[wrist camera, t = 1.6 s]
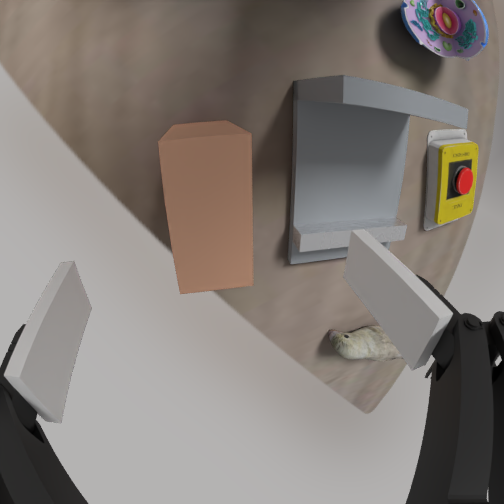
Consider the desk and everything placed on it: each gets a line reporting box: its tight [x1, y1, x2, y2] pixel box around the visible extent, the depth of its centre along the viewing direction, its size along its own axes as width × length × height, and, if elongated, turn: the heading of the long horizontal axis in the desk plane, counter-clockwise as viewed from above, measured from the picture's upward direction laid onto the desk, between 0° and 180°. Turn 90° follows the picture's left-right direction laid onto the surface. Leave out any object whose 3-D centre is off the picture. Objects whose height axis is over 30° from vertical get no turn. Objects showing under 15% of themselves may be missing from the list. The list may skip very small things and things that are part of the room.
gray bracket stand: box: [288, 75, 468, 264], centre depth 25 cm, size 20×14×10 cm
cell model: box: [401, 0, 489, 61], centre depth 17 cm, size 10×12×10 cm
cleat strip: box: [292, 217, 407, 252], centre depth 31 cm, size 2×14×2 cm, turn 91°
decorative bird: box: [329, 325, 404, 361], centre depth 42 cm, size 5×16×8 cm, turn 75°
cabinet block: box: [158, 120, 253, 294], centre depth 22 cm, size 11×5×12 cm, turn 1°
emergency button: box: [423, 129, 478, 231], centre depth 31 cm, size 9×4×15 cm
